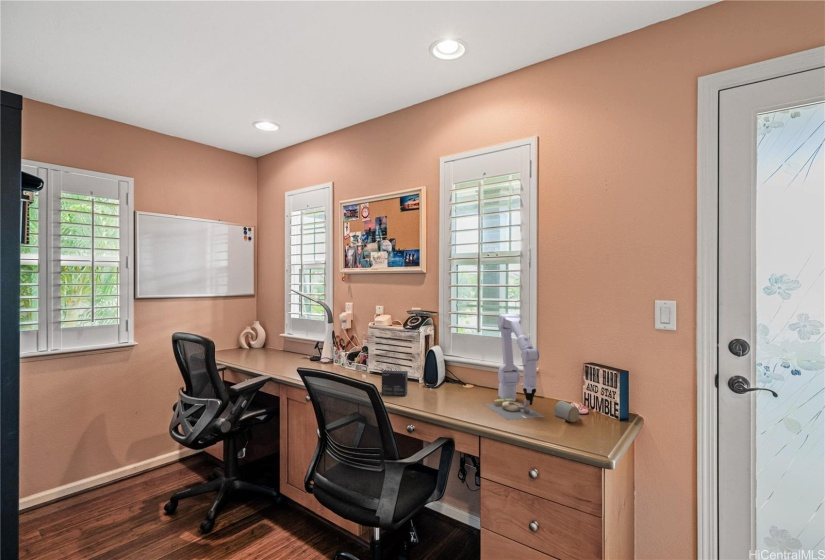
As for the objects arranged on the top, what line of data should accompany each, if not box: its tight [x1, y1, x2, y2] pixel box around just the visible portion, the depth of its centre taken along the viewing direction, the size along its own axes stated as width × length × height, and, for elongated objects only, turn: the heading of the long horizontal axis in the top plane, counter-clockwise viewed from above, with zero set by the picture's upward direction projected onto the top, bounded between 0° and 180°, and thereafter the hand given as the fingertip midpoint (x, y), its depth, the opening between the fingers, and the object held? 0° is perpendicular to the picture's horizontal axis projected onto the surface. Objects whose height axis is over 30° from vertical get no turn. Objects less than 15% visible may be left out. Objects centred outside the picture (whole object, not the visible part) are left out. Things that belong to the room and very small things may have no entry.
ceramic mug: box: [553, 400, 581, 423], centre depth 177 cm, size 11×8×8 cm
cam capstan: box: [502, 399, 531, 413], centre depth 184 cm, size 13×8×5 cm, turn 45°
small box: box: [381, 369, 409, 397], centre depth 213 cm, size 13×7×12 cm, turn 82°
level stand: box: [484, 398, 545, 421], centre depth 184 cm, size 22×18×4 cm
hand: (529, 404), depth 182 cm, fingers closed
